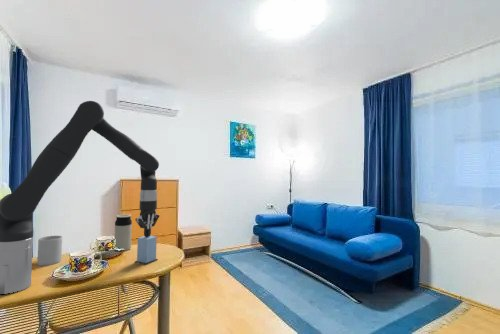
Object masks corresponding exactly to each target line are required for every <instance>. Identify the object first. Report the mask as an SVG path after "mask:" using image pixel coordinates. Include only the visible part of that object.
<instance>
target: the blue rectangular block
mask: <svg viewBox="0 0 500 334" xmlns="http://www.w3.org/2000/svg"><path fill="white" fill-rule="evenodd" d="M157 238H158V237H157V236H155V235H150V237H145V236H144V235H143V236H140V237H138V238H137V249H136V250H137V252H136V261H139V262H144V263H148V262H150V261H153V260H155V259H157V244H158V243H157Z"/></svg>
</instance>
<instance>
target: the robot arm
mask: <svg viewBox="0 0 500 334" xmlns="http://www.w3.org/2000/svg"><path fill="white" fill-rule="evenodd" d="M104 115H105V112H104V109H103V107H102V105H101V104H100V103H99V102H97V101H93V100H86V101H83V102H82V103H80V104H79V105H78V107H77V109H76V110H75V112H74V114H73V115H72V117H71V118H70V120H69V121H68V122H67V124H66V125H65V126H63V129H61V130H60V131H59V133H57V134H56V135H55V136H54V137H53V138H52V139H51V141H50V142H49V143H48V144H47V145H46V146H45V147H44V148H43V149H42V151H41V152H40V153H39V155H38V156H37V158H36V159H35V161H34V162H33V163H32V166H31V168H30V170H29V171H28V174H27V175H26V177H25V178H24V179H23V180H22V182H21V183H20V184H19V185H18V186H17V187H16V188H15V189H14V190H13V191H12V192H10V193H9V194H6V195H5V196H3V197H2V198H1V199H0V294H7V293H10V294H12V293H13V292H14V293H17V291H18V292H20V291H23V290H24V291H25V290H26V289H28V288H29V287H30V286H32V276H33V275H32V270H33V267H32V266H33V250H34V249H33V248H34V247H33V246H34V220H33V219H34V212H35V211H36V209H37V207H38V206H39V203H40V202H41V200H42V199H43V197H44V195H45V193H46V192H47V191H48V189H49V188H50V186H52V185H53V183H54V182H55V181H56V180H57V179H58V177H59V176H60V175H61V174H62V173H63V172H64V170H65V169H66V168H67V166H69V165H70V163H71V162H72V160H73V159H74V158H75V156H76V155H77V153H78V151H79V150H80V148H81V145H82V144H83V142H84V140H85V138H86V137H87V136H88V134H89V133H90V132H91V131H93V132H96V134H98V135H99V136H100V137H103V138H104V139H105V140H106V141H108V142H109V143H110V144H112V145H113V146H114V147H115V148H117V149H118V150H119V151H120V152H122V153H123V154H124V155H125V156H126V157H128V158H129V159H130V160H132V161H134V162H136V163H137V164H139V166H140V167H139V168H140V169H139V171H140V192H139V206H138V207H139V211H140V212H139V216H138V217H137V218H135V222H136V223H137V225H138V227H140V229H143V236H145V237H150V236H152V235H151V234H152V228H153V227H155V226H156V224H157V221H158V220H159V218H160V215H159V214H157V211H156V210H157V208H158V206H157V205H158V193H157V192H158V190H157V187H158V180H157V178H156V171H157V170H158V168H159V166H160V163H159V161H158V159H157V157H155V156H154V155H152V154H151V153H149V152H148V151H147V150H145V149H144V148H143V147H141V146H140V144H138V143H137V142H136V141H135V140H133V139H132V138H131V137H129V136H128V135H126V134H125V133H123V132H121V131H119V130H118V129H116V128H115V126H114V127H113V126H112V125H111V124H110V123H109V122H108V121H107V120H106V118H104ZM14 293H13V294H14ZM7 295H8V294H7Z"/></svg>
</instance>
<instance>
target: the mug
mask: <svg viewBox="0 0 500 334" xmlns="http://www.w3.org/2000/svg"><path fill="white" fill-rule="evenodd" d="M62 250H63V236H61V235H50V236H49V235H48V236H43V237H40V238H38V241H37V258H36V261H37V262H36V263H37V266H40V267H43V266H44V267H47V266H51V265H56V264H59V263H60V262H62V258H63V257H62V252H63V251H62Z"/></svg>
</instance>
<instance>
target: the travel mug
mask: <svg viewBox="0 0 500 334" xmlns="http://www.w3.org/2000/svg"><path fill="white" fill-rule="evenodd" d="M115 217H116V220H115V221H114V238H115V239H116V247H119V248H124V249H125V250H126V251H128V250H130V249H131V248H132V227H133V226H132V221H133V220H132V219H131V217H132V214H129V213H128V214H127V213H126V214H125V213H124V214H117V215H115Z"/></svg>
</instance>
